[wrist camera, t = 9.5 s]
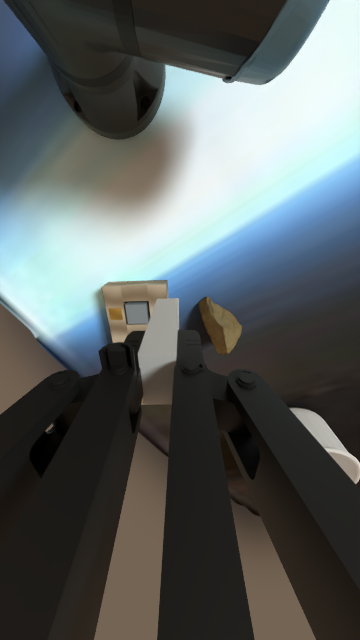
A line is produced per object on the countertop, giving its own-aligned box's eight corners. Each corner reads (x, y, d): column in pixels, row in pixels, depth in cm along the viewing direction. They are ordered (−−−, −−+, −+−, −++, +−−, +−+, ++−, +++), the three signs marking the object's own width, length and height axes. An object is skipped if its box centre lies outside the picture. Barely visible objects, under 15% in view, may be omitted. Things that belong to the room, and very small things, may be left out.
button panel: (108, 281, 40) (101, 287, 37) (167, 280, 40) (165, 285, 36) (129, 392, 53) (125, 405, 49) (174, 391, 52) (173, 404, 49)
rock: (184, 304, 40) (196, 348, 43) (213, 305, 33) (225, 357, 35) (221, 288, 45) (229, 328, 48) (253, 286, 38) (261, 333, 41)
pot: (329, 451, 62) (366, 506, 50) (256, 468, 66) (274, 523, 54) (313, 374, 50) (358, 422, 37) (225, 401, 54) (239, 452, 41)
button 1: (129, 299, 41) (124, 305, 38) (148, 298, 41) (145, 304, 37) (131, 317, 42) (127, 323, 39) (150, 316, 42) (147, 323, 39)
